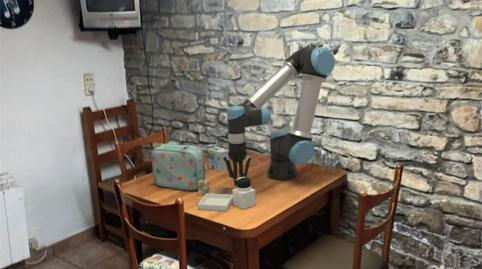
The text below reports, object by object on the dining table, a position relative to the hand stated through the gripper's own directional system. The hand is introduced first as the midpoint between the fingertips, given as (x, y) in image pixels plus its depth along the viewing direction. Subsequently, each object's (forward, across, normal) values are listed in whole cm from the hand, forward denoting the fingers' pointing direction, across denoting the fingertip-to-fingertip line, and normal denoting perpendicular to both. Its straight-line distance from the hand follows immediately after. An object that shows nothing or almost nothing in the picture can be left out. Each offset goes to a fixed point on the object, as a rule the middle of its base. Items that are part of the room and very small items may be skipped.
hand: (239, 192), depth 203 cm
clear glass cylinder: (+2, +17, 0) cm, 17 cm away
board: (+2, +6, 0) cm, 6 cm away
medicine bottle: (+2, -5, +10) cm, 12 cm away
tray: (+2, +7, +12) cm, 14 cm away
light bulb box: (+2, +19, -37) cm, 42 cm away
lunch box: (+2, +31, -8) cm, 32 cm away
